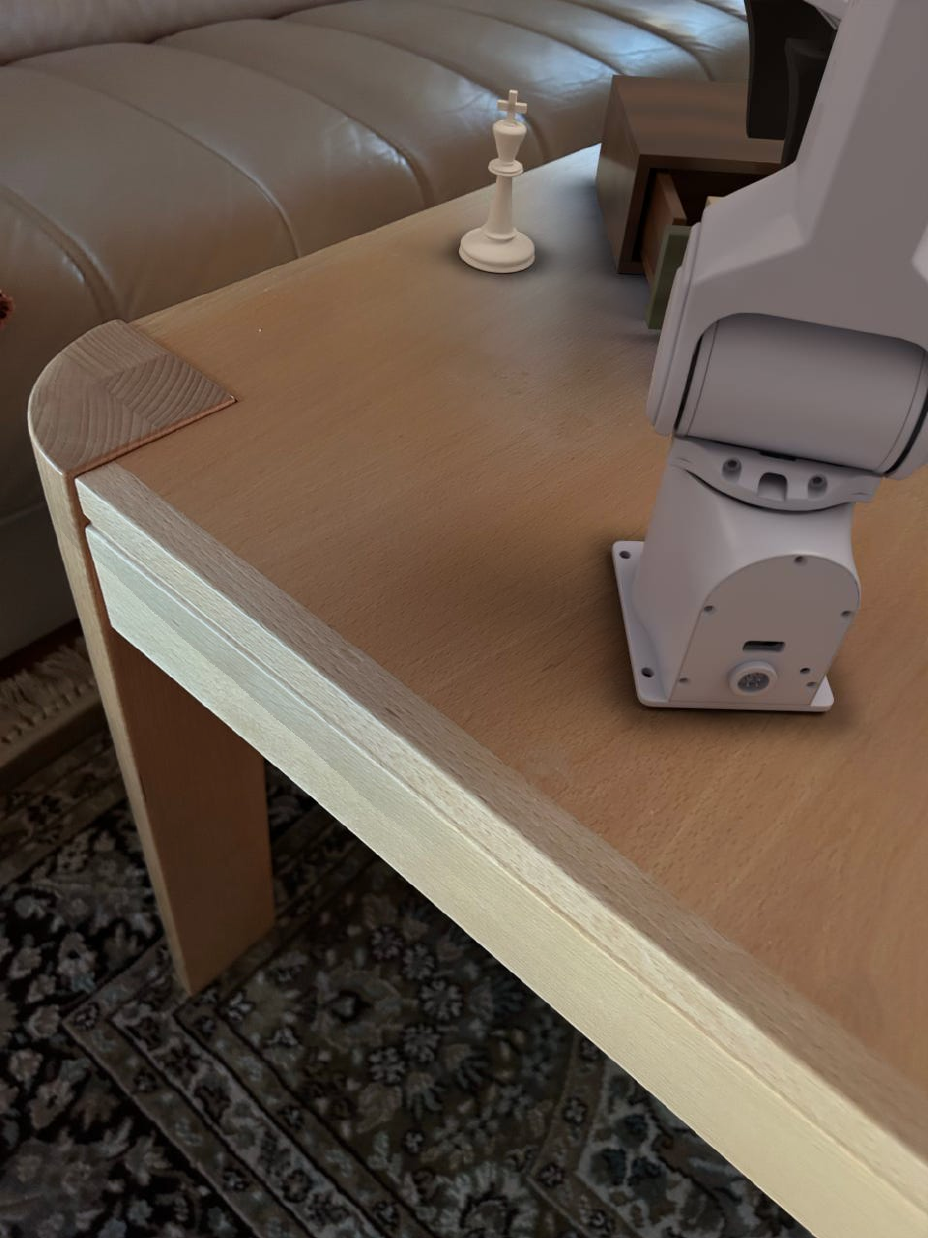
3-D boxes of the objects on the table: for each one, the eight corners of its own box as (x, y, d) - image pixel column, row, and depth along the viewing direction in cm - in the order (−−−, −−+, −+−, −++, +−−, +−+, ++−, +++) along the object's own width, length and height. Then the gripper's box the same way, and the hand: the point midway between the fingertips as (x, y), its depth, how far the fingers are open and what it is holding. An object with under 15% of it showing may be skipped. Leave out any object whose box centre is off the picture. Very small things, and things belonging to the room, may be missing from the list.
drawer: (860, 384, 57) (900, 289, 53) (659, 374, 56) (683, 277, 52) (788, 243, 69) (816, 156, 64) (621, 233, 68) (638, 144, 64)
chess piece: (528, 278, 64) (549, 112, 57) (451, 265, 65) (463, 99, 58) (539, 243, 68) (561, 83, 61) (467, 231, 68) (479, 70, 61)
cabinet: (806, 284, 67) (846, 166, 61) (616, 273, 66) (639, 153, 60) (762, 195, 76) (793, 86, 70) (594, 185, 75) (612, 73, 69)
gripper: (748, -186, 50) (684, 108, 59) (829, -119, 40) (736, 221, 49) (888, -173, 50) (802, 117, 60) (1004, -104, 40) (877, 230, 50)
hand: (781, 165), depth 55 cm, fingers open, 7 cm apart
